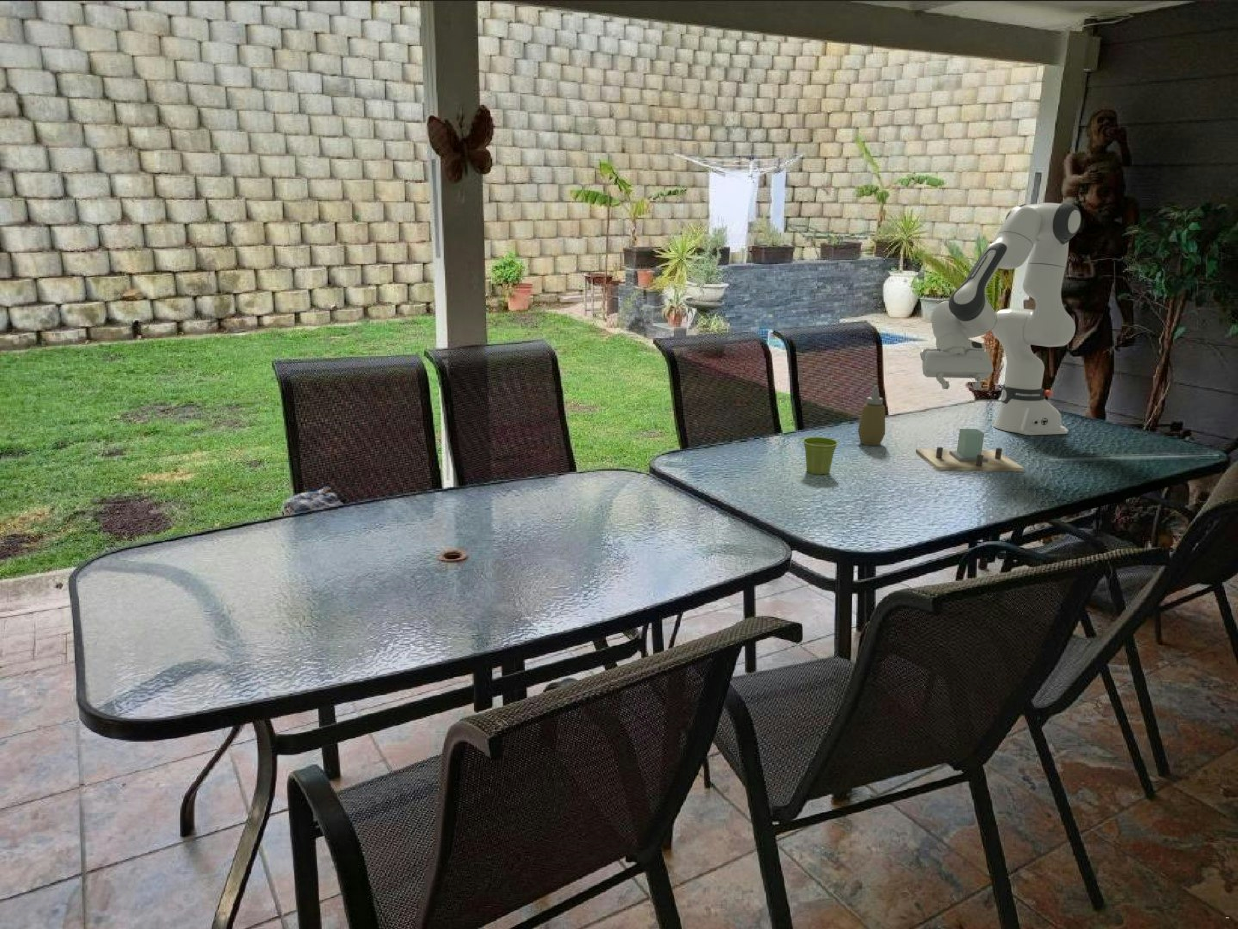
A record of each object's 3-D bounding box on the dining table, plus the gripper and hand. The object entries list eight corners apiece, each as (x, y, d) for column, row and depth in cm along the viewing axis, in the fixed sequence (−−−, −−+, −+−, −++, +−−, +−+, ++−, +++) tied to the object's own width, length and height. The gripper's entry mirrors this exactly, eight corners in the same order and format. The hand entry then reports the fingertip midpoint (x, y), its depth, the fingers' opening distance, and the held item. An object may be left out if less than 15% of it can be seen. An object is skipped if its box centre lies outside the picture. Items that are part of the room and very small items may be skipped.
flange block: (976, 454, 251) (980, 427, 249) (987, 462, 244) (991, 434, 241) (949, 453, 251) (952, 427, 249) (959, 461, 244) (963, 434, 241)
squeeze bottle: (887, 447, 261) (893, 389, 256) (860, 447, 261) (866, 388, 256) (879, 440, 269) (885, 383, 263) (853, 440, 269) (859, 383, 263)
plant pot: (795, 473, 234) (798, 442, 231) (805, 464, 242) (808, 435, 239) (830, 479, 230) (833, 447, 227) (839, 470, 238) (841, 439, 235)
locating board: (996, 453, 256) (997, 440, 255) (1023, 471, 239) (1025, 457, 238) (915, 452, 256) (917, 439, 255) (937, 470, 239) (939, 456, 238)
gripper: (922, 342, 256) (931, 381, 250) (990, 344, 257) (1000, 383, 251) (915, 354, 262) (923, 393, 255) (981, 356, 263) (990, 394, 256)
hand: (961, 388), depth 253 cm, fingers open, 8 cm apart
